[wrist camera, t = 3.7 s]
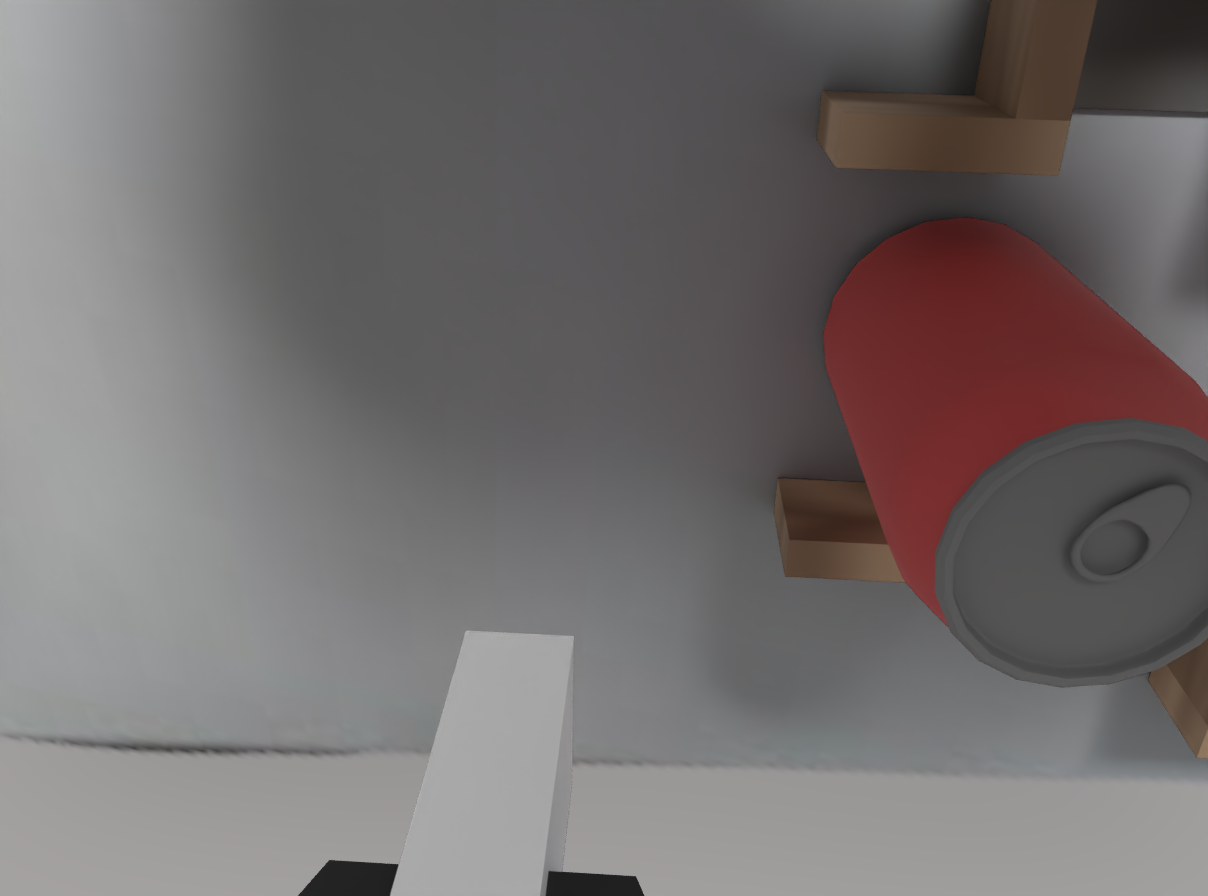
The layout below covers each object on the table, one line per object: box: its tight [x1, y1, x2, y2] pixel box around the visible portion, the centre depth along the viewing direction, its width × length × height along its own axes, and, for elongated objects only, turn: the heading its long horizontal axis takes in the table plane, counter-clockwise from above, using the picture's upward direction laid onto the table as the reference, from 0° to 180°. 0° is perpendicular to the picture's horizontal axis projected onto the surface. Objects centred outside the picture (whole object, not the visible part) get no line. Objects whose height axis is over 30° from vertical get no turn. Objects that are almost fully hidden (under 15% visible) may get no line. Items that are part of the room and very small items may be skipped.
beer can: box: [824, 217, 1208, 687], centre depth 23 cm, size 7×7×12 cm
